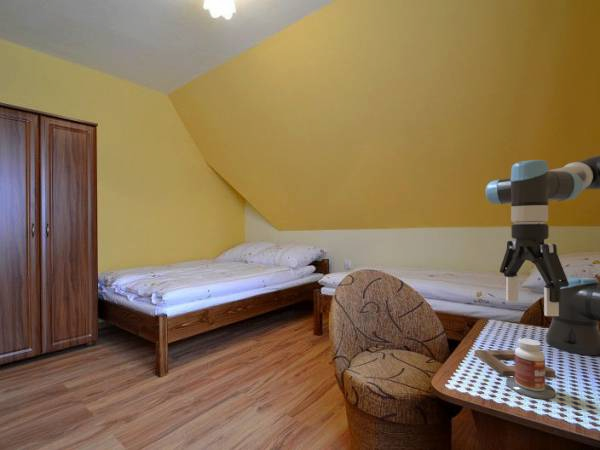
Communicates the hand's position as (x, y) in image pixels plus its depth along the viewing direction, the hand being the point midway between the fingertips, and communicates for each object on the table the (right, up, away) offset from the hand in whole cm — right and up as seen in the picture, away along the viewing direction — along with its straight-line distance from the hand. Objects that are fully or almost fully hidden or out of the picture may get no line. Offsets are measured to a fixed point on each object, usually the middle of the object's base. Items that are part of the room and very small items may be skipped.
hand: (530, 307), depth 78 cm
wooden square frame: (+4, -20, +13) cm, 24 cm away
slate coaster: (0, -20, 0) cm, 20 cm away
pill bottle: (0, -20, 0) cm, 20 cm away
